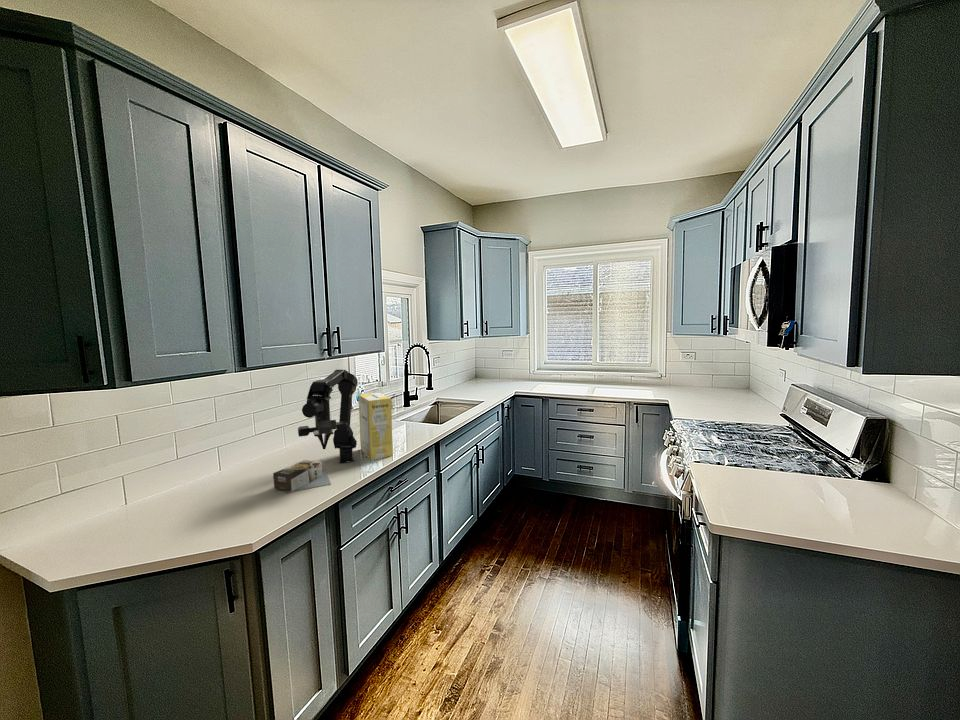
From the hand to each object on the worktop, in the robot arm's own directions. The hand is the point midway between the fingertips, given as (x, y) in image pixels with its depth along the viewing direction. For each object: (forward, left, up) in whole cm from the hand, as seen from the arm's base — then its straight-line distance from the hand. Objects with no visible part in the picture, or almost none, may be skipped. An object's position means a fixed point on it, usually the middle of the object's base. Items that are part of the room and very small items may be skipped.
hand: (324, 449), depth 164 cm
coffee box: (-4, -4, -8) cm, 10 cm away
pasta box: (-21, +26, -12) cm, 36 cm away
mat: (0, -7, -12) cm, 14 cm away
